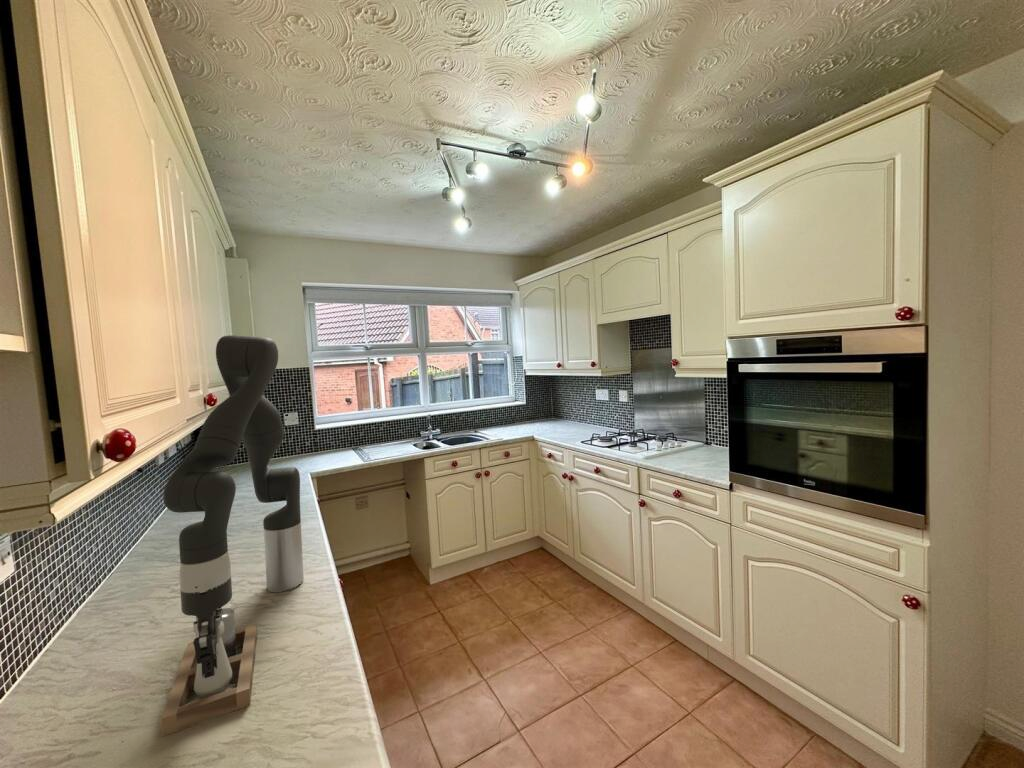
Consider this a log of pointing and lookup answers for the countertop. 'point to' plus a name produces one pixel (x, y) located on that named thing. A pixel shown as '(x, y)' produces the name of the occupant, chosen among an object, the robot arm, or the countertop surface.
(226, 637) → the pepper shaker
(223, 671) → the salt shaker
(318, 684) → the countertop surface
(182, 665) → the spice rail
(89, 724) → the countertop surface
